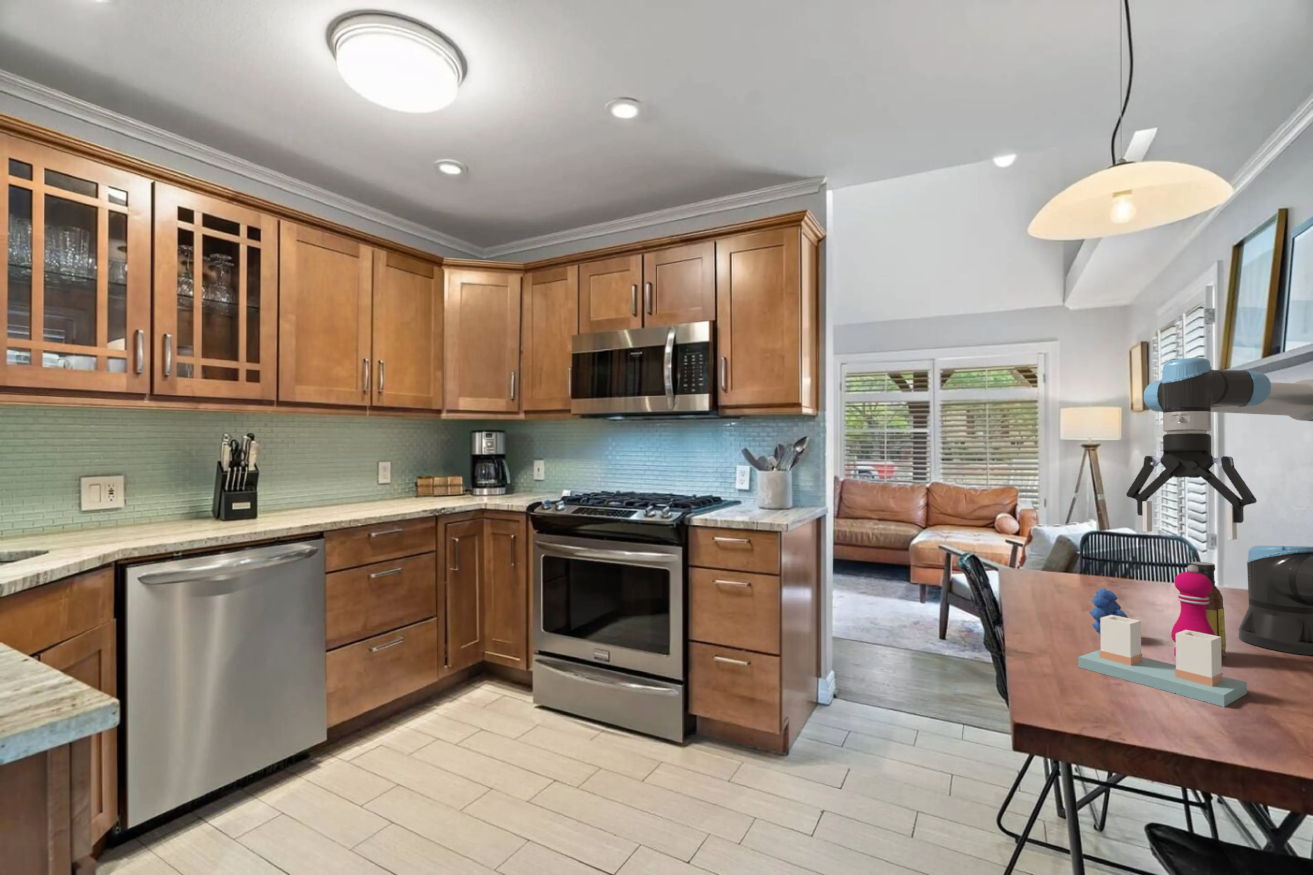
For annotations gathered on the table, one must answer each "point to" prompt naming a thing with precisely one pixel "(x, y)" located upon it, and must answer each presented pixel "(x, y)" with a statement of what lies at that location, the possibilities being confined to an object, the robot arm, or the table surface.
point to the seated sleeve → (1198, 657)
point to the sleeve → (1120, 639)
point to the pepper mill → (1192, 602)
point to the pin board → (1165, 679)
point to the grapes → (1105, 607)
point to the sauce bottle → (1214, 604)
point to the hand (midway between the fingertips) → (1187, 535)
